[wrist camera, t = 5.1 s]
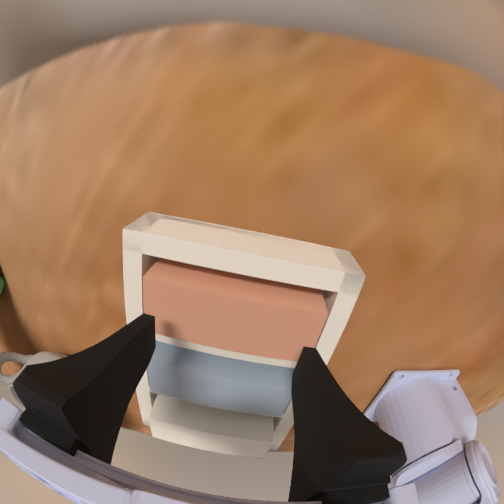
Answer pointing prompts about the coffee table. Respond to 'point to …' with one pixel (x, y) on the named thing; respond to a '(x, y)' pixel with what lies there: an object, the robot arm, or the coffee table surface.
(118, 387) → the robot arm
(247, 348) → the terracotta key
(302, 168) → the coffee table surface
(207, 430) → the ivory key
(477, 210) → the coffee table surface
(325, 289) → the cream drawer frame
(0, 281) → the cup
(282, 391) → the slate key
